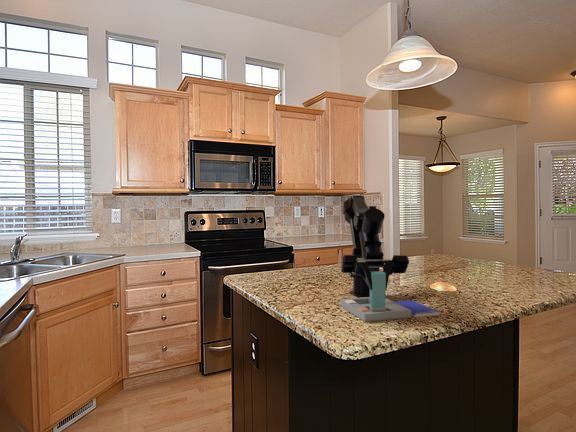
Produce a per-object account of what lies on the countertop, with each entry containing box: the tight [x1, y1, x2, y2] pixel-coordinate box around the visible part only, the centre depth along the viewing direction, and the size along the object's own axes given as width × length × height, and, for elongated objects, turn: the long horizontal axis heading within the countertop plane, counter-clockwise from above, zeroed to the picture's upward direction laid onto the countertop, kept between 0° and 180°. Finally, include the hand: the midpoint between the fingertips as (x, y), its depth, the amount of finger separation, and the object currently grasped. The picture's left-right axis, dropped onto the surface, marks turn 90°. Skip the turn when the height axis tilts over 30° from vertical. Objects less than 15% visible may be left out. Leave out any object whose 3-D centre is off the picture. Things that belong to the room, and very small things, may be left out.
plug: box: [369, 270, 387, 312], centre depth 101 cm, size 4×4×11 cm
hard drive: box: [394, 300, 441, 318], centre depth 107 cm, size 2×8×12 cm
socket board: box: [339, 296, 412, 323], centre depth 105 cm, size 16×14×2 cm
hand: (378, 289), depth 100 cm, fingers closed on plug, 3 cm apart
